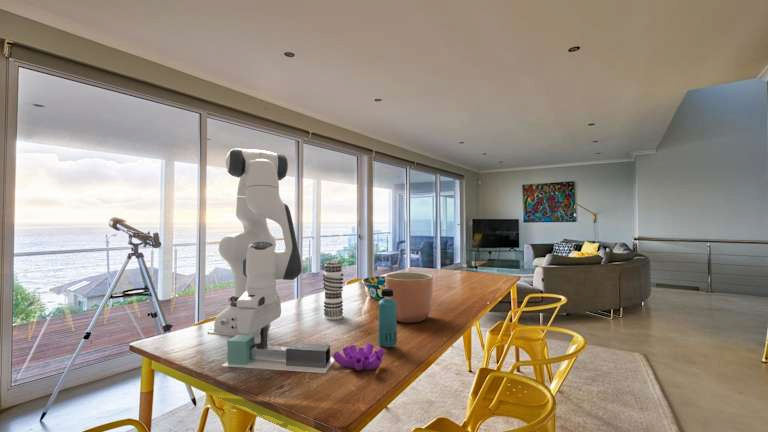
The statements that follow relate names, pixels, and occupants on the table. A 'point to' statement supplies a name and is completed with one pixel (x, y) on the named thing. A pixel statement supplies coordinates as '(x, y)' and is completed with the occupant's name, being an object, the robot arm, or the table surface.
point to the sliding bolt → (267, 349)
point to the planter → (411, 295)
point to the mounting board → (280, 365)
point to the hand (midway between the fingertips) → (261, 340)
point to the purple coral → (359, 357)
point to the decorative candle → (333, 290)
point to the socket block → (239, 349)
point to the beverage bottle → (387, 319)
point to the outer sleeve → (308, 355)
